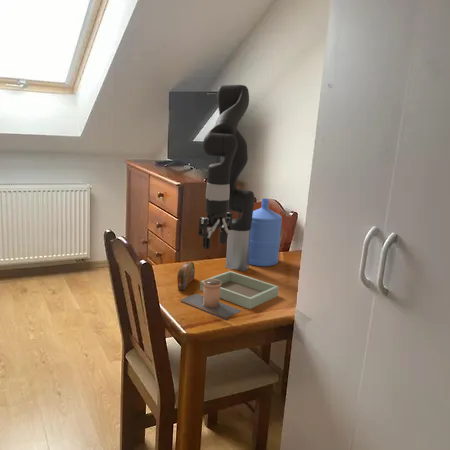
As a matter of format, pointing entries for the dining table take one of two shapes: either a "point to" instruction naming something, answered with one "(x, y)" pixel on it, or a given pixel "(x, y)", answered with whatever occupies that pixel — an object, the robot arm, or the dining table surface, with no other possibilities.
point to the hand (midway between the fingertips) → (214, 245)
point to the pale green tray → (244, 289)
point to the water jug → (265, 236)
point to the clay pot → (211, 293)
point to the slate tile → (221, 310)
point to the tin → (185, 275)
